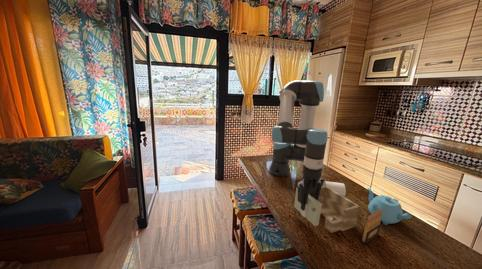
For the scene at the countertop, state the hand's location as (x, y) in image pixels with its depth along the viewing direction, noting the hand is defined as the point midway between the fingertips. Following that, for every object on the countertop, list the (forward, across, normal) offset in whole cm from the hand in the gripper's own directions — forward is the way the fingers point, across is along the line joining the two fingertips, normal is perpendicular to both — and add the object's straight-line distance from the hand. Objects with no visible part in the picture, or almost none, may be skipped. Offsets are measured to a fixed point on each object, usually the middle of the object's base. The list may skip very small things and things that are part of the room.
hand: (305, 214), depth 84 cm
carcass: (+4, +13, -1) cm, 14 cm away
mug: (+5, +33, +14) cm, 36 cm away
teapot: (+4, +38, -11) cm, 39 cm away
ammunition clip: (+4, +20, -17) cm, 26 cm away
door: (0, 0, 0) cm, 0 cm away
